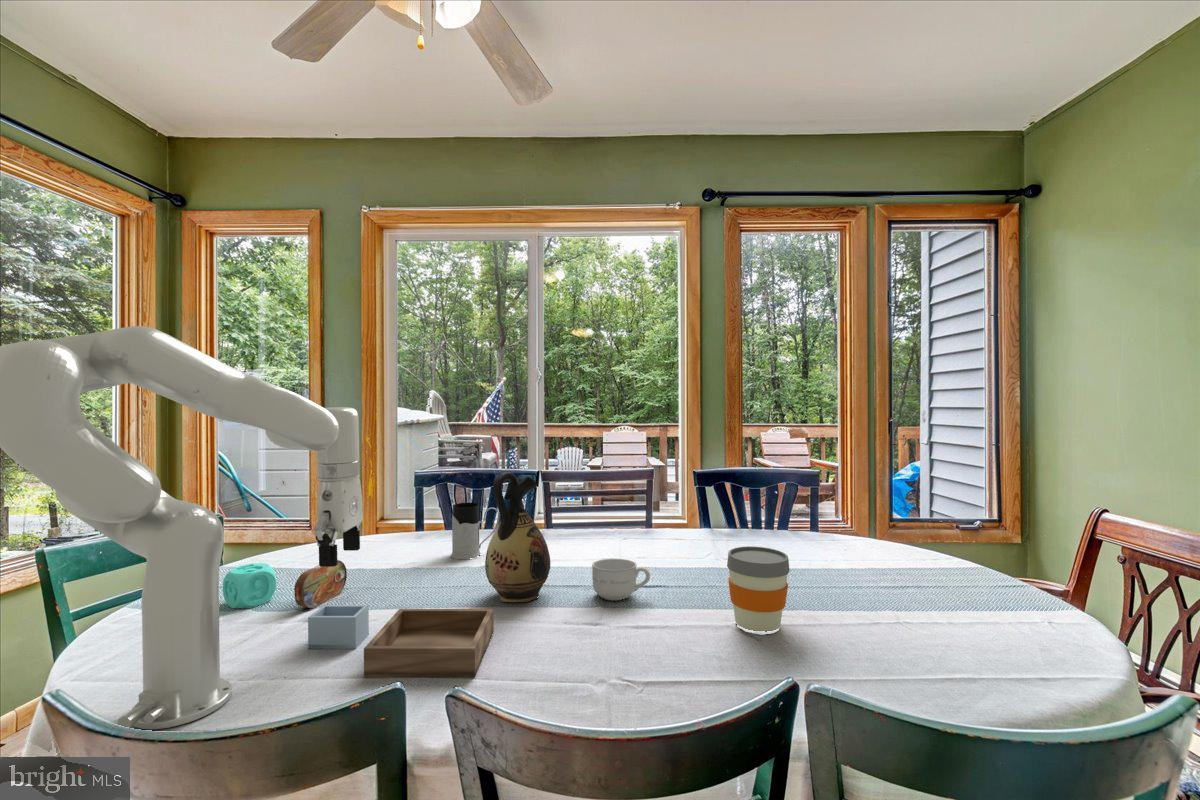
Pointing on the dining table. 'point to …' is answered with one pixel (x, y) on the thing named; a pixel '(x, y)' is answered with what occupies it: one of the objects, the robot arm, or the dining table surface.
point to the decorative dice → (249, 585)
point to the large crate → (430, 643)
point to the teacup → (616, 578)
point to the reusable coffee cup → (758, 586)
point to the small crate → (338, 627)
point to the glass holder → (467, 530)
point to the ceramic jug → (516, 545)
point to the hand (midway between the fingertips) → (340, 557)
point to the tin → (319, 585)
